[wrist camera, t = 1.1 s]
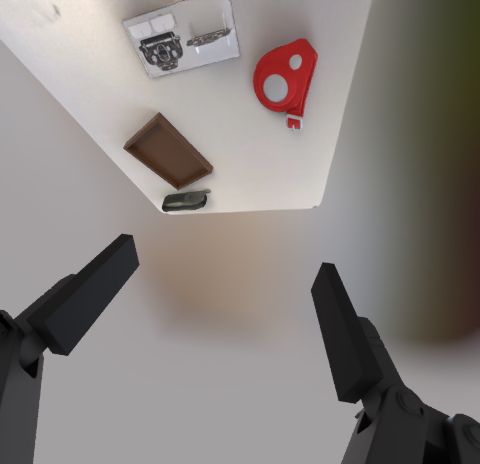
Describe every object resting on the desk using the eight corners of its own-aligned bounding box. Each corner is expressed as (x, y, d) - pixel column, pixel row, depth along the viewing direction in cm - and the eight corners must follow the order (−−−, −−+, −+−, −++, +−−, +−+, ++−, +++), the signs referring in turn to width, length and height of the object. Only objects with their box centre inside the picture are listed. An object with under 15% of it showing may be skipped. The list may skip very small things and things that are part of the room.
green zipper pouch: (165, 214, 59) (210, 208, 54) (158, 208, 56) (205, 201, 52) (169, 200, 61) (213, 194, 56) (163, 194, 59) (209, 187, 54)
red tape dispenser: (239, 91, 32) (279, 26, 24) (250, 77, 34) (290, 11, 26) (292, 142, 36) (342, 101, 28) (298, 127, 38) (348, 84, 29)
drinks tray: (126, 142, 44) (122, 148, 43) (159, 112, 38) (156, 118, 37) (179, 184, 54) (178, 190, 53) (213, 166, 48) (211, 172, 47)
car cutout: (227, -15, 24) (223, -5, 22) (240, 55, 29) (237, 68, 27) (122, 20, 27) (109, 32, 25) (151, 77, 33) (142, 90, 31)
